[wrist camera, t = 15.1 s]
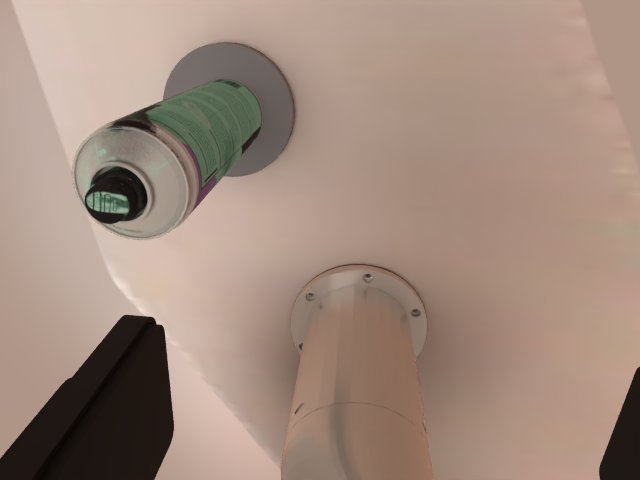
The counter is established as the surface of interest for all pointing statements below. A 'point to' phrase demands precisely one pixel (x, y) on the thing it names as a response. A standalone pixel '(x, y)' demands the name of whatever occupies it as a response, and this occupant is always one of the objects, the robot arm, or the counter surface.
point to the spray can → (165, 158)
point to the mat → (259, 77)
